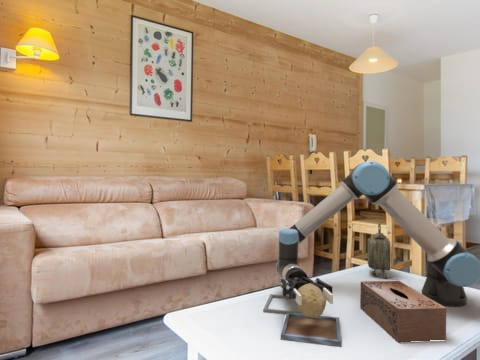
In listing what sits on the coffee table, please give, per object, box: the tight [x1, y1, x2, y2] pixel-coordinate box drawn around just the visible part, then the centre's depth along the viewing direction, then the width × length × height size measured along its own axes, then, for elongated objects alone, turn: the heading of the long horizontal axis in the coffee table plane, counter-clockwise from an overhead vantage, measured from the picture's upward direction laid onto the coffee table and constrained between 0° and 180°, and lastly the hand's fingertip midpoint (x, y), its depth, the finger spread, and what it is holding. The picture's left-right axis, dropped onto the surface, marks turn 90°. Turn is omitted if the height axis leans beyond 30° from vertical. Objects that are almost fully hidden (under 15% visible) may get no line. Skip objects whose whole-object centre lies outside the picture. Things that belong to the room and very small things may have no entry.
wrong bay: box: [262, 293, 302, 316], centre depth 127 cm, size 15×16×1 cm
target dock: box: [280, 312, 342, 348], centre depth 108 cm, size 17×17×1 cm
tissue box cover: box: [359, 280, 447, 344], centre depth 113 cm, size 26×14×10 cm, turn 4°
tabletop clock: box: [366, 223, 392, 280], centre depth 167 cm, size 14×9×25 cm, turn 164°
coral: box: [294, 283, 327, 318], centre depth 108 cm, size 10×10×10 cm
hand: (316, 299), depth 103 cm, fingers closed on coral, 9 cm apart
